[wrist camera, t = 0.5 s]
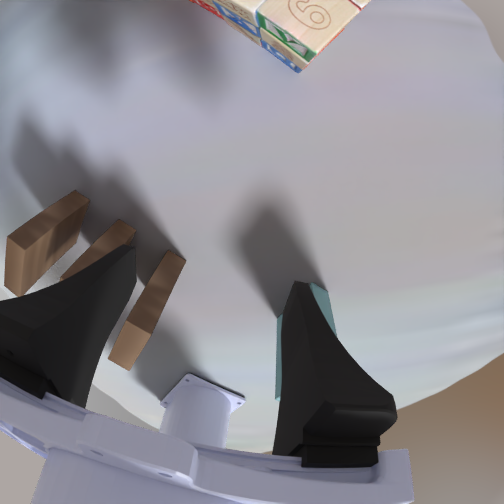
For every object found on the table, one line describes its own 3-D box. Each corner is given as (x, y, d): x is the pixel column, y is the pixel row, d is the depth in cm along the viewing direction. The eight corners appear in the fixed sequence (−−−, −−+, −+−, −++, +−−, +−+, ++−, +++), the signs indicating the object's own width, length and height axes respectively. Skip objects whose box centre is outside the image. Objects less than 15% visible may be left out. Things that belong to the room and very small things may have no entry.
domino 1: (90, 200, 24) (24, 250, 16) (76, 243, 26) (20, 298, 18) (74, 190, 23) (7, 236, 15) (62, 233, 25) (4, 285, 17)
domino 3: (186, 260, 26) (151, 334, 18) (163, 298, 28) (129, 371, 20) (168, 249, 25) (126, 320, 17) (146, 288, 27) (107, 358, 20)
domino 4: (327, 292, 26) (343, 372, 18) (292, 327, 28) (294, 407, 20) (312, 282, 26) (323, 363, 18) (277, 318, 28) (275, 399, 20)
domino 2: (136, 230, 25) (82, 292, 17) (117, 270, 27) (70, 335, 19) (118, 219, 24) (60, 277, 16) (102, 260, 26) (51, 322, 18)
